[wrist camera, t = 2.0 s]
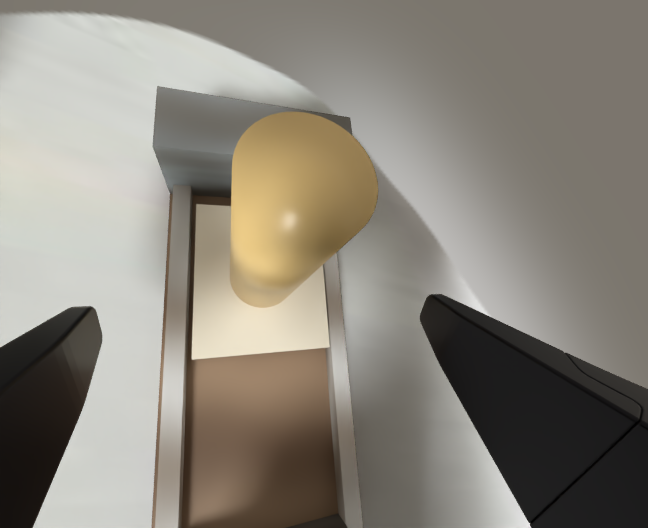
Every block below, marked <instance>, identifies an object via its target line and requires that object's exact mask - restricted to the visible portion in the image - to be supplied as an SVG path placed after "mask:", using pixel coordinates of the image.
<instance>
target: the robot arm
mask: <svg viewBox="0 0 648 528" xmlns="http://www.w3.org/2000/svg"><path fill="white" fill-rule="evenodd" d="M420 322H421V324H422V326H423V329H424V331H425V333H426V335H427V338H428V340H429V342H430V344H431V347H432V349H433V351H434V353H435V356H436V358H437V360H438V362H439V364H440V366H441V368H442V370H443V371H444V373H445V375H446V377H447V379H448V380H449V382H450V384H451V386H452V387H453V389H454V391H455V393H456V394H457V396H458V398H459V400H460V402H461V403H462V405H463V407H464V409H465V410H466V412H467V414H468V416H469V417H470V419H471V421H472V423H473V425H474V426H475V428H476V430H477V432H478V433H479V435H480V437H481V439H482V441H483V442H484V444H485V446H486V448H487V449H488V451H489V453H490V455H491V456H492V458H493V460H494V462H495V464H496V465H497V467H498V469H499V471H500V472H501V474H502V476H503V478H504V480H505V481H506V483H507V485H508V487H509V488H510V490H511V492H512V494H513V495H514V497H515V499H516V501H517V503H518V504H519V506H520V508H521V510H522V511H523V513H524V515H525V517H526V518H527V520H528V522H529V523H530V526H531V528H648V389H646V388H644V387H642V386H639V385H637V384H635V383H632V382H630V381H628V380H625V379H623V378H621V377H619V376H616V375H614V374H612V373H610V372H607V371H605V370H603V369H601V368H598V367H596V366H594V365H592V364H590V363H587V362H585V361H583V360H581V359H579V358H576V357H574V356H572V355H570V354H568V353H564V352H563V351H561V350H559V349H557V348H555V347H553V346H551V345H549V344H546V343H544V342H542V341H540V340H538V339H536V338H534V337H532V336H530V335H527V334H525V333H523V332H521V331H519V330H517V329H515V328H513V327H511V326H508V325H506V324H504V323H502V322H500V321H498V320H495V319H493V318H491V317H489V316H487V315H485V314H483V313H481V312H479V311H476V310H474V309H472V308H470V307H468V306H466V305H464V304H462V303H459V302H457V301H455V300H453V299H451V298H449V297H447V296H445V295H442V294H431V295H429V296H428V297H427V298H426V301H425V303H424V306H423V308H422V311H421V314H420ZM101 344H102V331H101V328H100V324H99V320H98V316H97V313H96V310H95V309H94V308H93V307H91V306H83V307H71V308H68V309H67V310H65V311H63V312H61V313H60V314H58V315H56V316H54V317H53V318H51V319H49V320H47V321H46V322H44V323H42V324H40V325H39V326H37V327H35V328H33V329H32V330H30V331H28V332H26V333H25V334H23V335H21V336H19V337H18V338H16V339H14V340H12V341H11V342H9V343H7V344H5V345H4V346H2V347H0V528H33V525H34V523H35V521H36V518H37V516H38V514H39V511H40V509H41V507H42V504H43V502H44V499H45V497H46V495H47V492H48V490H49V488H50V485H51V483H52V480H53V478H54V476H55V473H56V471H57V469H58V466H59V464H60V461H61V459H62V457H63V454H64V452H65V450H66V447H67V445H68V443H69V440H70V438H71V435H72V433H73V431H74V428H75V426H76V424H77V421H78V419H79V416H80V414H81V411H82V409H83V406H84V403H85V400H86V397H87V393H88V390H89V386H90V383H91V379H92V376H93V372H94V369H95V365H96V362H97V358H98V355H99V351H100V348H101Z"/></svg>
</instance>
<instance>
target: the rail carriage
mask: <svg viewBox="0 0 648 528" xmlns="http://www.w3.org/2000/svg"><path fill="white" fill-rule="evenodd" d="M377 198H378V182H377V177H376V173H375V170H374V167H373V164H372V162H371V160H370V158H369V156H368V154H367V153H366V151H365V150H364V148H363V147H362V146H361V144H360V143H359V142H358V141H357V140H356V139H355V138H354V137H353V136H352V135H351V134H350V133H349V132H347V131H346V130H345V129H343V128H342V127H341V126H339V125H337V124H336V123H334V122H332V121H330V120H328V119H326V118H323V117H320V116H317V115H314V114H310V113H305V112H281V113H276V114H272V115H269V116H267V117H264V118H262V119H260V120H259V121H257V122H255V123H254V124H253V125H251V126H250V127H249V128H248V129H247V130H246V131H245V132H244V133H243V135H242V136H241V138H240V139H239V141H238V143H237V145H236V148H235V150H234V154H233V159H232V186H231V206H219V205H202V204H196V232H195V264H194V297H193V329H192V360H194V359H205V358H216V357H228V356H239V355H250V354H261V353H272V352H284V351H295V350H306V349H317V348H328V347H330V345H329V332H328V320H327V308H326V296H325V284H324V272H323V264H324V263H325V262H326V261H327V260H329V259H330V258H331V257H332V256H333V255H334V254H335V253H336V252H337V251H338V250H340V249H341V248H342V247H343V246H344V245H345V244H346V243H347V242H348V241H349V240H351V239H352V238H353V237H354V236H355V235H356V234H357V233H358V232H359V231H360V230H361V229H362V228H364V227H365V225H366V224H367V223H368V221H369V220H370V218H371V216H372V214H373V212H374V210H375V207H376V203H377Z"/></svg>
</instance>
